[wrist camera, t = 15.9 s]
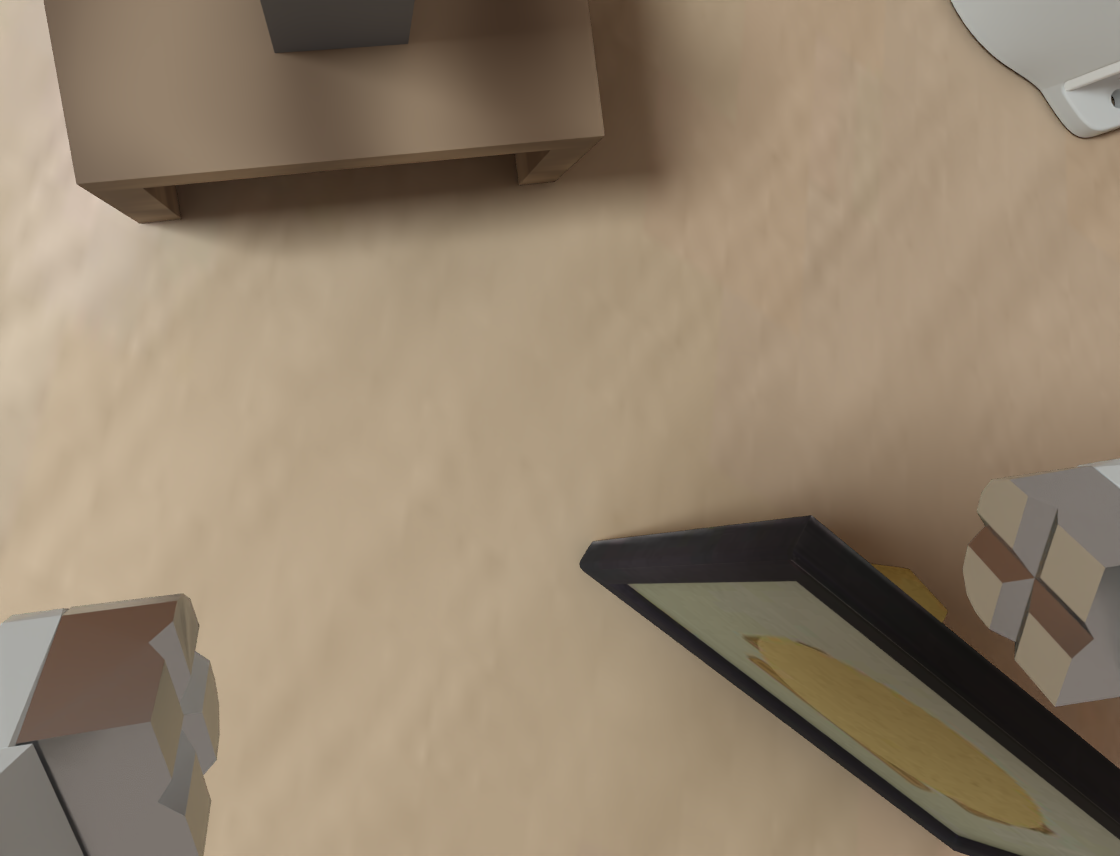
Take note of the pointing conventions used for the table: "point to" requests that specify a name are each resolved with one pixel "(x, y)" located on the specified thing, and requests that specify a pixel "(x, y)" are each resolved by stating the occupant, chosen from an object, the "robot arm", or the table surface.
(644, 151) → the table surface
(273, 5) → the tall grey pillar block
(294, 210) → the table surface
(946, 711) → the picture frame
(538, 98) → the walnut shelf
